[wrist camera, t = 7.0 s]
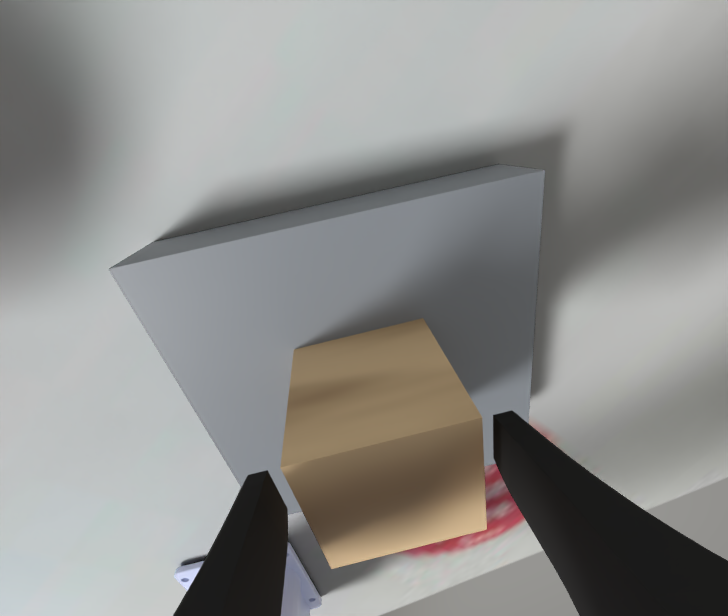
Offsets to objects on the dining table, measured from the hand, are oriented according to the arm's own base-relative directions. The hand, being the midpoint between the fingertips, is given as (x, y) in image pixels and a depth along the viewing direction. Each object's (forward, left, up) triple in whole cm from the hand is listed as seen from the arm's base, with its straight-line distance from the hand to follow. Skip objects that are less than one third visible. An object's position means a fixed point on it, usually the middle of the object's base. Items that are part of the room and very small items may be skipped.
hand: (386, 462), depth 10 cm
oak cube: (0, 0, -4) cm, 4 cm away
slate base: (0, 0, -7) cm, 7 cm away
